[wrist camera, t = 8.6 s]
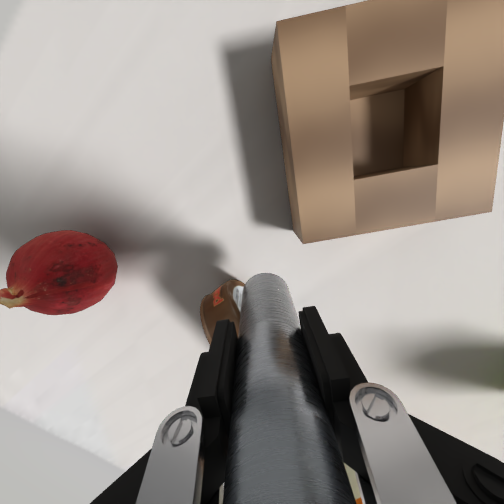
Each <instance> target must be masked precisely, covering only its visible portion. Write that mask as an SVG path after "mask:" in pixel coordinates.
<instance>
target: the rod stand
mask: <svg viewBox="0 0 504 504" xmlns="http://www.w3.org/2000/svg"><path fill="white" fill-rule="evenodd" d="M271 64H272V71H273V79H274V87H275V94H276V102H277V110H278V118H279V125H280V133H281V141H282V148H283V156H284V164H285V171H286V179H287V187H288V194H289V202H290V210H291V217H292V225H293V231H294V233H295V234H296V235H297V237H298V238H299V239H300V241H301V242H302V243H303V244H306V243H312V242H318V241H324V240H330V239H335V238H341V237H347V236H353V235H359V234H365V233H371V232H376V231H382V230H388V229H394V228H400V227H406V226H411V225H417V224H423V223H429V222H435V221H441V220H447V219H452V218H458V217H464V216H470V215H476V214H482V213H487V212H492V206H493V198H494V190H495V183H496V175H497V167H498V160H499V152H500V144H501V137H502V129H503V121H504V0H368V1H364V2H359V3H355V4H350V5H346V6H342V7H337V8H333V9H329V10H324V11H320V12H316V13H311V14H307V15H302V16H298V17H294V18H289V19H285V20H281V21H277V22H276V29H275V35H274V42H273V49H272V55H271Z"/></svg>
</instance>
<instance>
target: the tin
mask: <svg viewBox="0 0 504 504" xmlns="http://www.w3.org/2000/svg"><path fill="white" fill-rule="evenodd" d="M244 285H245V284H244V283H242V282H240V281H238V280H229V281H227V282H225V283H224V284H223V285H221V286H220V287H219V288H217V289H216V290H215V291H214V292H213V293H211V294H209V295H206V296H205V297H204V298H203V300H202V302H201V306H200V316H201V322H202V326H203V329H204V333H205V335H206V338H207V340H208V342H209V344H210V345H211V341H212V337H213V333H214V329H215V326H216V322H217V321H219V320H225V319H229V320H230V322H234V324H235V328H236V332H237V336H238V334H239V323H240V312H241V302H242V292H243V288H244Z"/></svg>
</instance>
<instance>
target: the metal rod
mask: <svg viewBox="0 0 504 504" xmlns="http://www.w3.org/2000/svg"><path fill="white" fill-rule="evenodd" d="M222 504H356V500H355V497H354V494H353V491H352V488H351V485H350V482H349V478H348V475H347V472H346V469H345V466H344V463H343V459H342V456H341V453H340V450H339V447H338V444H337V440H336V437H335V434H334V431H333V428H332V425H331V422H330V418H329V415H328V413H327V410H326V408H325V405H324V402H323V398H322V395H321V392H320V389H319V386H318V382H317V379H316V376H315V373H314V370H313V366H312V363H311V360H310V357H309V354H308V351H307V347H306V344H305V341H304V338H303V335H302V331H301V327H300V324H299V320H298V317H297V314H296V311H295V308H294V305H293V301H292V298H291V295H290V292H289V289H288V286H287V284H286V283H285V281H284V280H283V279H282V278H280V277H279V276H277V275H275V274H271V273H261V274H258V275H255V276H253V277H252V278H250V279H249V280H248V281H247V282H246V284H245V285H244V288H243V292H242V302H241V312H240V323H239V334H238V345H237V355H236V366H235V377H234V387H233V398H232V409H231V419H230V429H229V439H228V450H227V461H226V471H225V482H224V492H223V503H222Z"/></svg>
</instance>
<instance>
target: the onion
mask: <svg viewBox="0 0 504 504" xmlns="http://www.w3.org/2000/svg"><path fill="white" fill-rule="evenodd" d="M117 268H118V265H117V262H116V258H115V255H114V253H113V252H112V251H111V250H110V248H109V247H108V246H107V245H106V244H105V243H104V242H102V241H100V240H98V239H96V238H94V237H93V236H91V235H89V234H86V233H81V232H77V231H72V230H62V231H56V232H50V233H45V234H43V235H40V236H38V237H35V238H34V239H32V240H31V241H29V242H27V243H26V244H24V245H22V246H21V247H20V248H19V249H18V250H16V252H15V253H14V254H13V256H12V258H11V261H10V264H9V266H8V269H7V272H6V280H7V286H8V289H7V288H4V289H1V290H0V304H2V305H5V306H6V307H8V308H13V307H26V308H28V309H29V310H31V311H35V312H39V313H43V314H47V315H61V314H72V313H76V312H79V311H82V310H84V309H86V308H88V307H90V306H92V305H94V304H96V303H98V302H99V301H101V300H102V299H103V298H104V296H105V295H106V294H107V293H108V291H109V290H110V289H111V288H112V286H113V285H114V284H115V279H116V273H117Z"/></svg>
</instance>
